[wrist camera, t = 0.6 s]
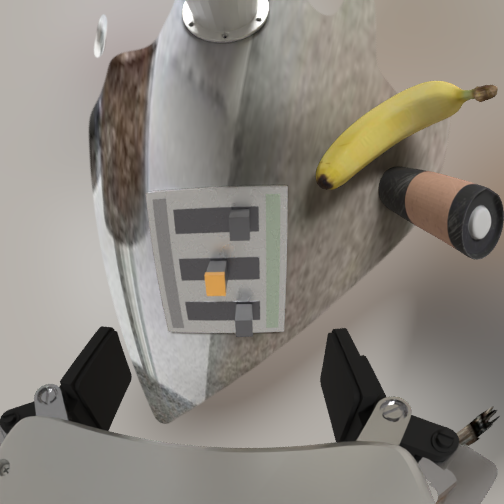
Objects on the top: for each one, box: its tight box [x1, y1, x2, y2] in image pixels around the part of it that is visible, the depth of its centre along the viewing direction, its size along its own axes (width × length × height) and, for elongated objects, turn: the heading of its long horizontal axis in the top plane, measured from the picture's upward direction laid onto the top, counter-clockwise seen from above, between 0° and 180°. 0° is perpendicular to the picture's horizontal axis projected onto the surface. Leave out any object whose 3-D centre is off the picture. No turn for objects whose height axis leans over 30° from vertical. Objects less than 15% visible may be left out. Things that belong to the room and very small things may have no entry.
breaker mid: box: [204, 260, 228, 296], centre depth 39 cm, size 3×3×5 cm
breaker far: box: [235, 304, 253, 337], centre depth 42 cm, size 3×2×4 cm
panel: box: [146, 185, 288, 333], centre depth 42 cm, size 24×20×2 cm
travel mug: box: [379, 167, 504, 259], centre depth 29 cm, size 8×8×20 cm
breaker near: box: [229, 209, 250, 241], centre depth 36 cm, size 3×2×4 cm
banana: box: [316, 81, 497, 190], centre depth 26 cm, size 23×6×20 cm, turn 132°
